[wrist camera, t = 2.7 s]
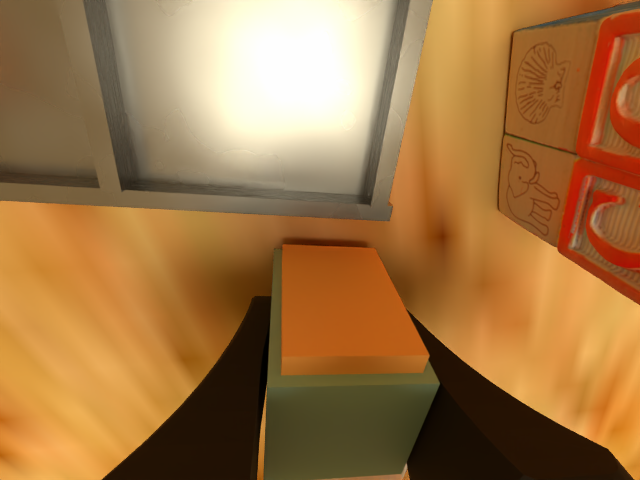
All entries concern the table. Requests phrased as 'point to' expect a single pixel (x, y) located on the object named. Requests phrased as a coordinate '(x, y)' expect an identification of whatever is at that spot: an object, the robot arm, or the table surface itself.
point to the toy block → (341, 368)
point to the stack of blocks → (578, 141)
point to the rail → (208, 103)
